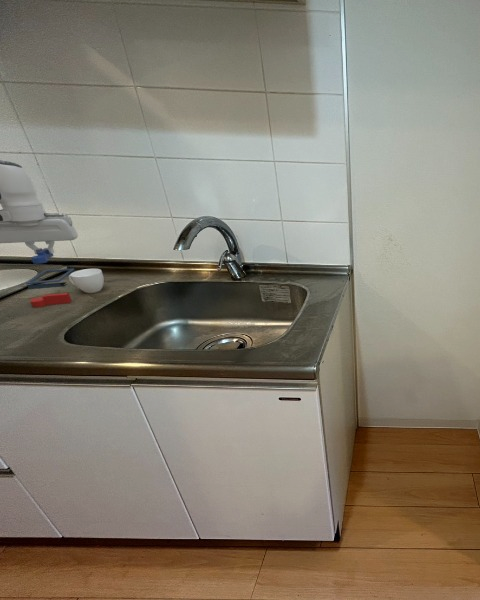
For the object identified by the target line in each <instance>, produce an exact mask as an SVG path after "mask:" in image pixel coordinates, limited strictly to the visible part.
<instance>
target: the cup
mask: <svg viewBox="0 0 480 600" xmlns="http://www.w3.org/2000/svg"><path fill="white" fill-rule="evenodd" d="M68 280H69V281H70V284H72V285H73V286H75V287H77V288H78V289H79V290H80V291H82V292H84V293H86V294H93V293H98V292H100V291H102V289H103V287H104V283H105V277H104V273H103V271H102V269H100V268H86V269H84V268H83V269H80V270H75V271H72V272H71V273H70V274H69V275H68Z"/></svg>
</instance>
